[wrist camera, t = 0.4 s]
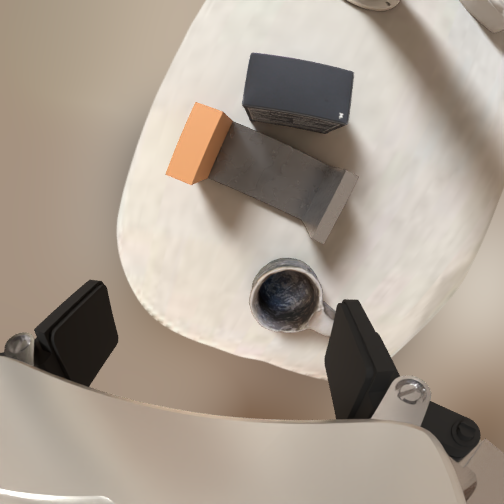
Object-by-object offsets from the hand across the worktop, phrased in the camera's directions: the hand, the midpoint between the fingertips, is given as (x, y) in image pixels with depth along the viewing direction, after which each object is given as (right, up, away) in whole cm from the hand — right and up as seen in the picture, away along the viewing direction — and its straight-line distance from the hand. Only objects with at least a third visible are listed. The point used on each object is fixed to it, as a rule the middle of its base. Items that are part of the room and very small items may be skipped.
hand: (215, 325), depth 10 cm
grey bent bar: (+4, +14, +25) cm, 29 cm away
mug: (+8, -1, +31) cm, 31 cm away
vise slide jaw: (-4, +16, +22) cm, 28 cm away
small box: (+7, +22, +22) cm, 32 cm away
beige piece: (+45, +51, +9) cm, 69 cm away
